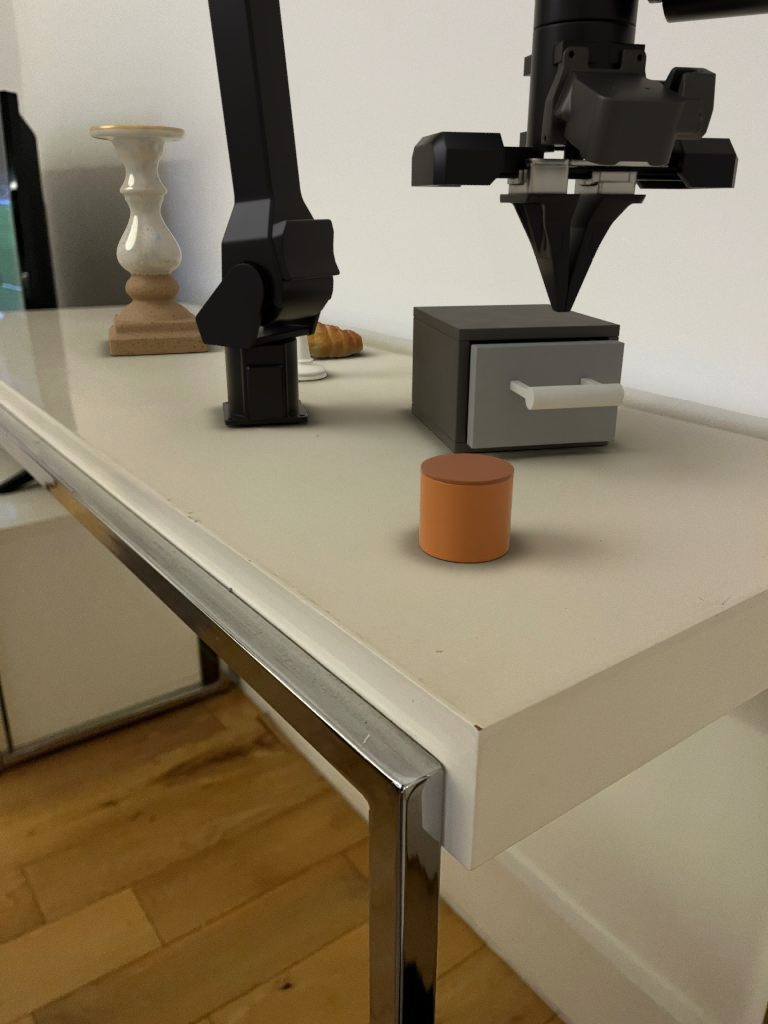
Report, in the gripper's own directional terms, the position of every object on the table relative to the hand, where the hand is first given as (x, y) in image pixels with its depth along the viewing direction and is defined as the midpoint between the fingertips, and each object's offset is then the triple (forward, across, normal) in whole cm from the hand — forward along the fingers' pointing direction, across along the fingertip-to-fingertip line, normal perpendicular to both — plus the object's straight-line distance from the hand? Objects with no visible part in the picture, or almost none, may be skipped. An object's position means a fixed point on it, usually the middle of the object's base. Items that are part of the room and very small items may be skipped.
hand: (561, 311), depth 52 cm
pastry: (+10, -10, +44) cm, 47 cm away
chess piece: (+10, -13, +32) cm, 36 cm away
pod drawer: (+9, 0, +4) cm, 10 cm away
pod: (+10, -10, -13) cm, 19 cm away
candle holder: (+10, -28, +53) cm, 61 cm away
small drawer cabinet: (+10, 0, +9) cm, 14 cm away
